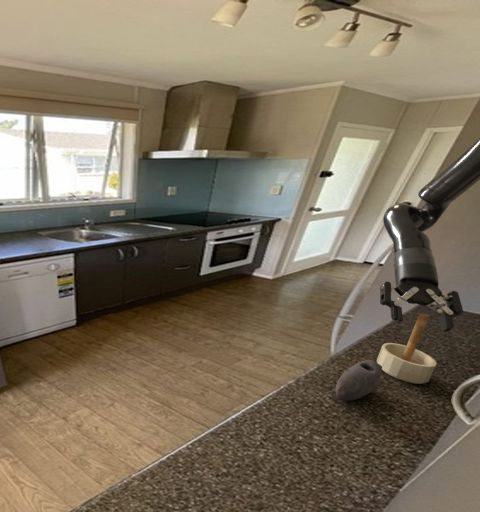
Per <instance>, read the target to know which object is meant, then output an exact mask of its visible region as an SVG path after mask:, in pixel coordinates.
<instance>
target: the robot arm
mask: <svg viewBox="0 0 480 512" xmlns="http://www.w3.org/2000/svg"><path fill="white" fill-rule="evenodd" d="M479 182H480V137H479V138H478V140H476V141H475V142H474V143H473V144H472V145H470V147H468V149H466V150H465V151H464V152H463V153H462V154H461V155H459V157H457V158H456V159H455V160H454V161H452V162H451V163H450V164H449V165H447V166H446V167H445V168H444V169H443V170H442V171H441V172H439V173H438V174H437V175H436V176H434V178H432V179H431V180H429V182H428V183H426V184H425V185H424V186H423V187H422V188H421V189H420V190H419V191H418V193H417V196H418V198H419V199H420V200H422V201H423V202H425V203H424V204H423V206H422V207H417V206H415V205H412V204H407V203H395V204H393V205H391V206H390V207H388V208H387V209H386V211H385V212H384V214H383V217H382V218H383V219H382V220H383V221H382V222H383V226H384V228H385V231H386V232H387V234H388V236H389V238H390V240H391V241H392V244H393V245H392V246H393V270H394V280H395V284H393V283H391V282H390V281H385V282H383V283H382V284H380V286H379V287H380V288H379V290H380V291H379V292H380V293H379V303H380V305H382V306H386V307H388V308H389V309H390V318H391V320H393V321H394V323H397V324H400V323H402V322H403V319H404V317H403V309H402V306H401V305H402V304H404V303H405V302H407V303H408V304H410V305H411V304H412V305H419V306H423V307H426V306H427V307H428V308H429V309H430V310H431V311H434V312H435V313H436V314H437V315H438V321H439V327H440V331H441V332H444V333H445V332H446V333H447V332H449V331H451V330H453V329H454V328H455V327H454V320H453V318H455V317H457V316H460V315H463V314H464V308H463V305H462V301H461V298H460V295H459V294H460V293H459V292H458V291H456V290H452V291H443V290H441V289H440V287H439V284H440V283H439V278H438V277H439V276H438V270H437V264H436V259H435V256H434V254H433V248H432V241H431V238H430V237H429V235H428V234H427V233H425V232H427V231H428V230H430V229H432V228H433V227H434V226H435V225H436V224H437V222H438V221H439V220H440V219H441V217H443V214H444V213H446V211H447V210H448V208H449V207H450V206H451V205H452V203H453V202H455V201H457V200H458V199H459V198H461V196H463V195H464V194H465V193H467V192H468V191H470V190H471V189H472V188H473V187H475V186H476V185H477V184H478V183H479ZM393 291H394V292H396V293H397V295H399V297H397V298H396V299H395V300H392V292H393ZM440 297H441V298H442V299H441V298H440Z"/></svg>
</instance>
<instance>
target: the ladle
mask: <svg viewBox="0 0 480 512" xmlns="http://www.w3.org/2000/svg"><path fill="white" fill-rule="evenodd" d="M429 318H430V315H429V314H428V313H424V312H419V313H418V317H417V320H416V321H415V324H414V327H413V329H412V331H411V334H410V336H409V338H408V341H407V344H406V345H405V346H406V349H405V351H404V353H403V356H402V358H401V359H403V360H405V361H408V362H410V361H411V359H412V356H413V354H414V352H415V349H417V347H418V344H419V342H420V339H421V337H422V335H423V332H424V329H425V328H426V325H427V323H428V321H429Z"/></svg>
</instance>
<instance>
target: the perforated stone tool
mask: <svg viewBox="0 0 480 512" xmlns="http://www.w3.org/2000/svg"><path fill="white" fill-rule="evenodd" d="M382 374H383V370H382V366H381V365H379V364H378V363H377V361H375V360H374V359H366V360H362V361H359V362H357V363H355V364H354V365H352V366H350V367H348V368H347V369H345V371H344V372H343V373H342V374H341V375H340V377H339V379H338V380H337V382H336V385H335V396H336V398H337V399H339V400H340V401H347V402H349V401H355V400H358V399H361V398H363V397H365V396H367V395H369V394H370V393H371V394H372V392H374V391H375V390H377V388H379V387H380V386H381V384H382V378H381V376H382Z"/></svg>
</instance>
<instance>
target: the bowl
mask: <svg viewBox="0 0 480 512" xmlns="http://www.w3.org/2000/svg"><path fill="white" fill-rule="evenodd" d="M406 346H407V345H405V344H400V343H396V342H395V343H394V342H386V343H383V344H382V345H381V348H380V350H379V354H378V356H377V358H376V363H378V364H379V365H381V366H382V372H384V373H386V374H387V375H389V376H391V377H393V378H395V379H398V380H400V381H403V382H406V383H410V384H415V385H422V384H426V383H429V381H430V380H431V377H432V375H433V373H434V371H435V369H436V366H437V364H438V363H437V361H436V359H434V358H433V357H432V356H430V355H429V354H427V353H426V352H424V351H421V350H419V349H417V348H416V349H415V352H414V354H413V356H412V359H411V361H410V362H408V361H405V360H403V359H401V358H402V356H403V353H404V351H405V349H406Z"/></svg>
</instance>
